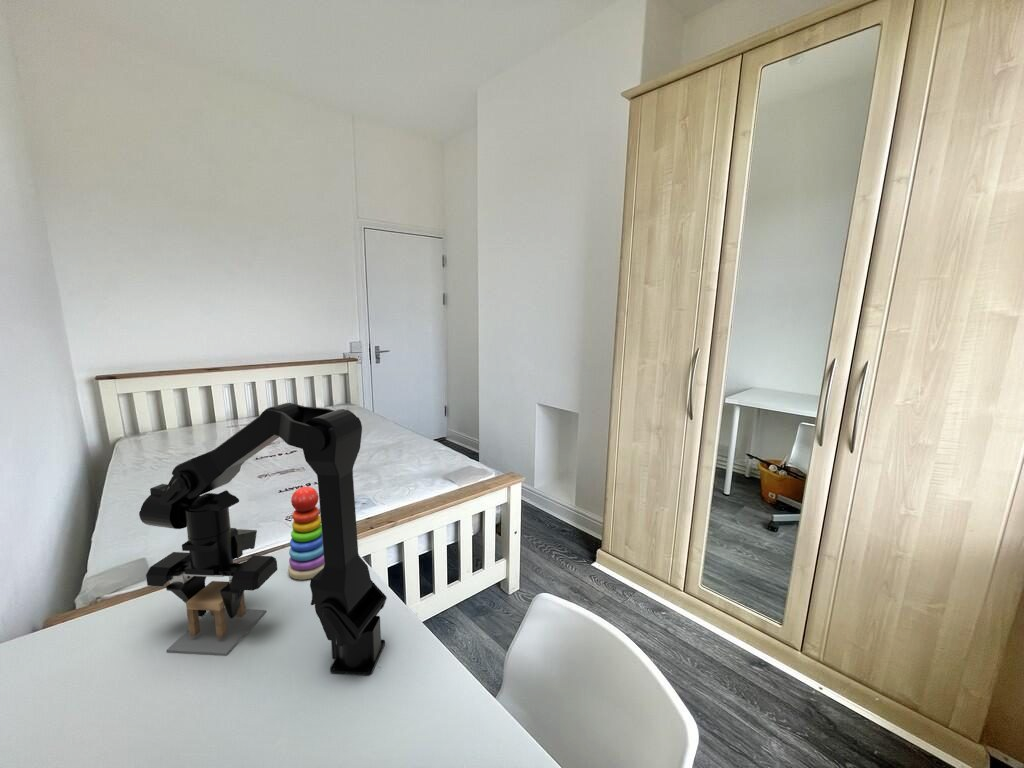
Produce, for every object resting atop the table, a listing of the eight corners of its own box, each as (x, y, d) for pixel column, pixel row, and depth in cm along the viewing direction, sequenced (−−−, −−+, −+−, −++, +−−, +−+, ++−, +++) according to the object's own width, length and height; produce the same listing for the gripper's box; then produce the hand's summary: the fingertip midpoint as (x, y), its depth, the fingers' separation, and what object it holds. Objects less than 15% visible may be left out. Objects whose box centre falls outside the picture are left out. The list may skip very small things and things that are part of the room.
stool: (245, 613, 73) (243, 582, 73) (222, 637, 68) (219, 604, 67) (215, 611, 74) (212, 580, 73) (189, 635, 68) (185, 602, 67)
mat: (266, 611, 76) (266, 609, 76) (226, 655, 66) (226, 653, 66) (213, 609, 76) (213, 607, 76) (166, 652, 66) (166, 650, 66)
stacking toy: (280, 574, 87) (273, 489, 84) (313, 555, 94) (308, 476, 91) (304, 586, 83) (298, 498, 80) (337, 565, 90) (333, 484, 87)
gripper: (292, 510, 76) (298, 588, 78) (194, 506, 77) (202, 583, 79) (251, 542, 65) (259, 631, 67) (137, 538, 66) (149, 626, 68)
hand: (218, 615), depth 71 cm, fingers closed on stool, 5 cm apart
